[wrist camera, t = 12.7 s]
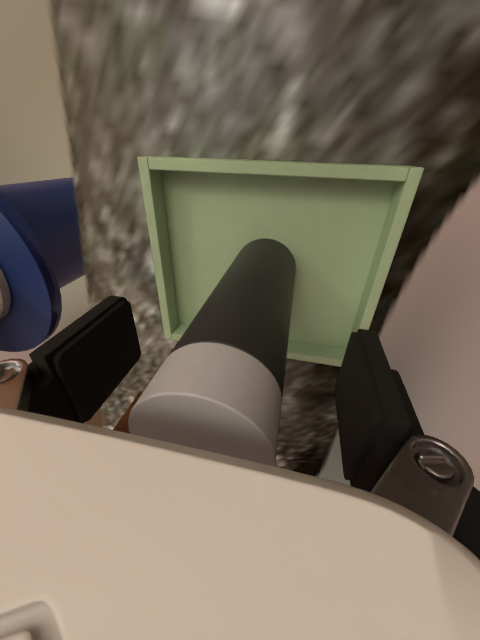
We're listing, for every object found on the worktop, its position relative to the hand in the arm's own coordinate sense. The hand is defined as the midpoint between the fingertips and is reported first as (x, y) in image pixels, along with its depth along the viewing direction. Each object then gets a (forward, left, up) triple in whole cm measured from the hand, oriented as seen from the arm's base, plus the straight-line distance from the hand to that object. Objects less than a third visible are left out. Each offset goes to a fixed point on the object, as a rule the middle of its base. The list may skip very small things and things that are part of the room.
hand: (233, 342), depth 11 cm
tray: (0, 0, -9) cm, 9 cm away
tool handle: (0, 0, -8) cm, 8 cm away
